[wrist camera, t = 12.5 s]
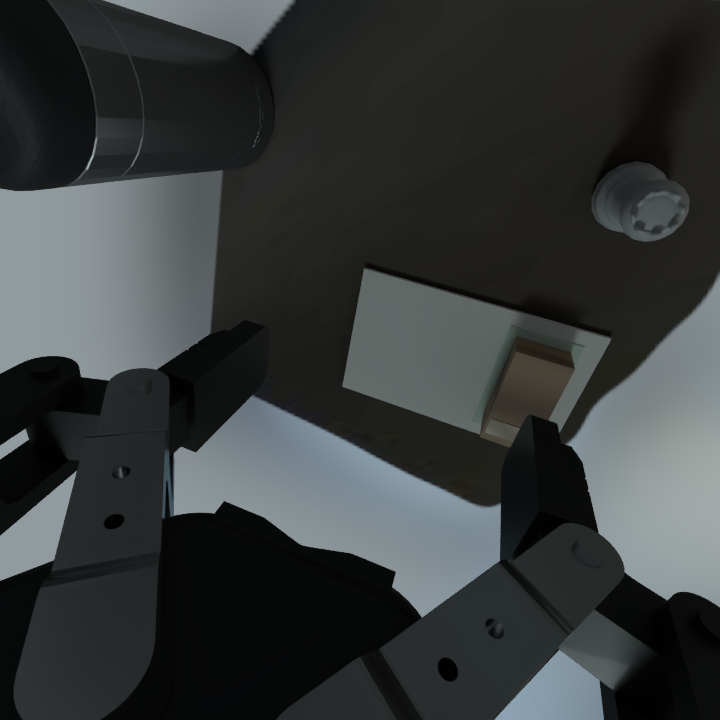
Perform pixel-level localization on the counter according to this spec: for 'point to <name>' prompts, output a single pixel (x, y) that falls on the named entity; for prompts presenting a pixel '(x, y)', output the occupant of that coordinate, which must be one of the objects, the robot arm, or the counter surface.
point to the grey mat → (450, 349)
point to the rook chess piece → (640, 202)
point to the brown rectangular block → (526, 389)
